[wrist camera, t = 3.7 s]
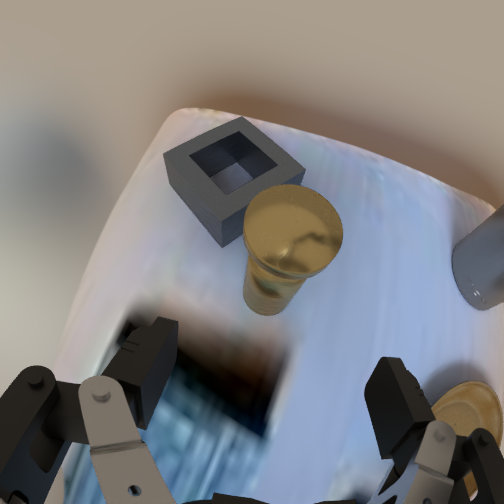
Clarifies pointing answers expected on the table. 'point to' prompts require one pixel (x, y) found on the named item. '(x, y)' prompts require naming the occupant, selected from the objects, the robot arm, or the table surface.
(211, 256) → the table surface
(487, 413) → the plant saucer
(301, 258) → the brass flared peg
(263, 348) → the table surface
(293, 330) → the table surface
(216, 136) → the box
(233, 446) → the table surface
